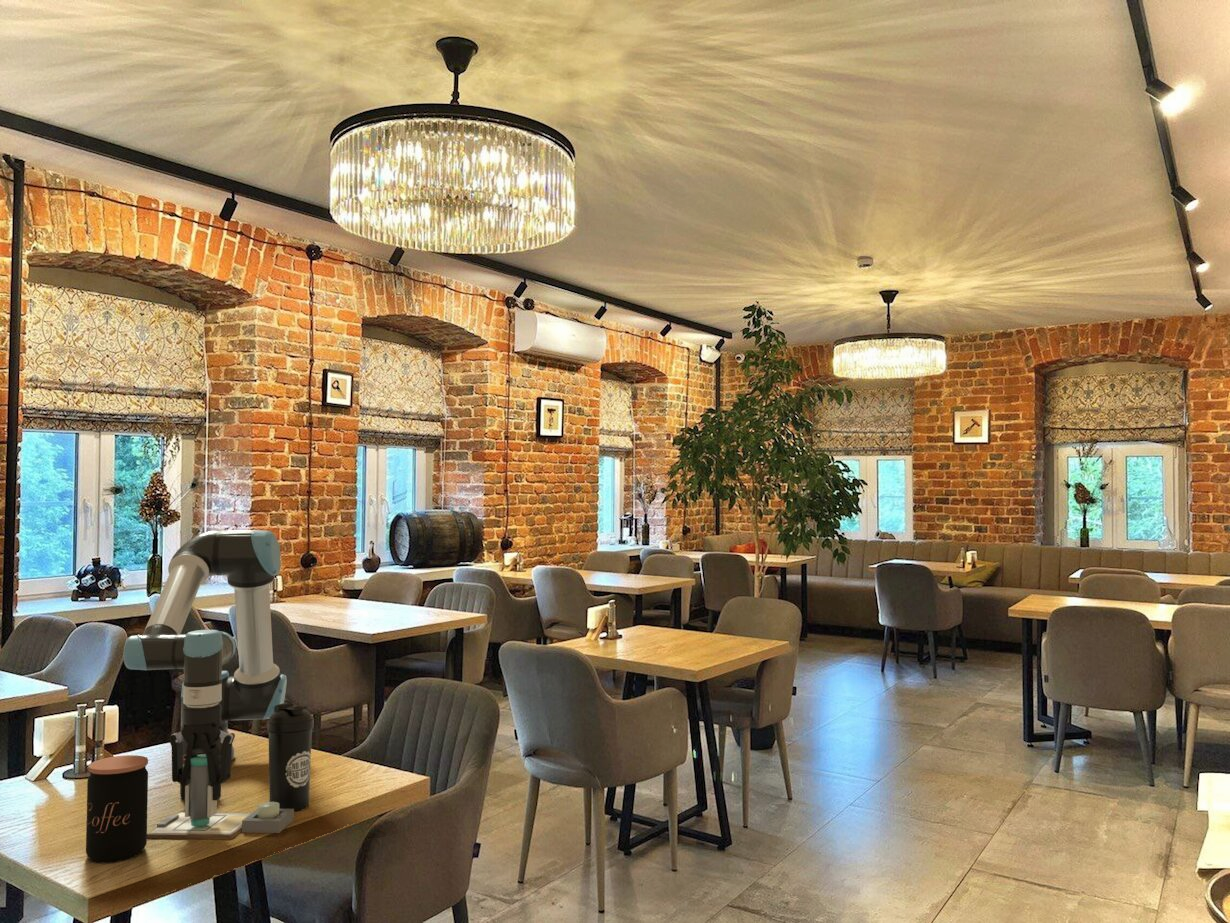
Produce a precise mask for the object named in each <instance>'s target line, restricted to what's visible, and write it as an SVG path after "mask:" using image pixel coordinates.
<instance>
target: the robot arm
mask: <svg viewBox="0 0 1230 923" xmlns="http://www.w3.org/2000/svg"><path fill="white" fill-rule="evenodd" d="M281 558H282V556H281V549H280V543H279V540H278V537H277V536H276V535H275V533H274V532H272V531H270V530H260V529H244V530H243V529H240V530H239V529H237V530H235V529H234V530H232V529H231V530H230V529H229V530H225V529H224V530H218V529H216V530H209V531H205V532H202V533H199V534H197V535H196V536H194V537H192V538H190V539H189V540H188V541H187V542H185V543H183V544H182V546H180V547H179V549H177V551H176V552H175V553H174V554H173V556H172V557H171V559H170V562H169V564H168V567H167V568H168V570H167V571H168V577H167V579H166V581H165V583H164V586H163V588H162V590H161V592H160V594H159V597H158V599H157V602H156V603H155V606H154V608H153V610H152V613H151V614H150V618H149V620H148V621H147V623H146V626H145V629H144V631H143V633H142V634H137V635H131V636H128V637H127V639H126V641H125V643H124V645H123V651H122V652H123V653H122V656H123V664H124V665H125V667H126V669H128V670H136V671H137V670H140V671H152V670H153V671H156V670H159V671H160V670H181V669H182V670H183V682H182V684H181V694H180V731H179V732H175V733H173V734H171V735H169V736H168V741H169V743H170V747H171V780H172V782H173V783H178V784H179V785H180V784H181V796H180V798H181V800H182V801H184V812H185V817H189V816H190V778H191V758H192V757H194V756H196V755H197V752H204V753H205V754H206V758H207V763H208V768H209V774H210V779H211V784H210V785H209V786H208V798H207V817H212V816H213V815H215V814H216V813H218V812H217V811H218V810H217V809H218V807H217V806H218V805H217V804H218V800H219V799H221V797H222V783H226V782H227V781H228V780H230V779H231V776H232V775H231V773H232V772H231V771H232V768H231V767H232V760H234V759H235V747H234V745H233V742H234V740H235V737H236V735H235V733H234V732H231V733H230V732H229V730H228V726H229V725H228V724H229V723H228V721H248V720H249V721H252V720H254V721H255V720H262V721H265V720H269V718H270V716H271V715H272V714H273V713H275V712H274V707H275V706H276V705H279V704H284V703H285V698H286V691H287V685H288V684H287V681H288V679H287V675H286V674H283V673H282V674H281V671H280V667H279V666H278V665H277V664H276V663H274V654H273V653H274V652H273V635H272V632H273V631H272V614H271V599H270V598H271V597H270V596H271V594H270V585H271V584H272V583H273V582H274V581H275V579H276V578H275V576H277V575H279V573H280V571H281V568H282V567H281V566H282V562H281V561H282V560H281ZM212 576H217V577H218V576H226V578H227V585H228V586H230V587H231V588H233V589H234V590H233V592H234V604H235V605H234V606H235V618H236V634H237V647H236V642H235V639H234V637H233V636H232V635H231V634H230V633H228V632H226V631H222V630H221V631H220V630H218V629H199V630H192V631H189V632H187V633H186V634H185V633H184V634H182V631H183V629H184V626H185V623H186V621H187V619H188V616H189V614H190V612H191V609H192V606H193V604H194V602H195V599H196V596H197V594H198V592H199V590H200V587H201V585H202V584H204V583H205V582H206V581H207V579H208V578H209V577H212ZM236 649H237V650H238V665H239V667H238V668H237V669H236V670H235V671H234V673H233V676H230V674H229V671H228V670H223V666H225V665H227V664H228V663H229V662H230V661H231V660H232V658H233V656H234V655H235V652H236ZM184 755H186V759H185V763H184V768H183V756H184Z"/></svg>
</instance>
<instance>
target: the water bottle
mask: <svg viewBox="0 0 1230 923" xmlns="http://www.w3.org/2000/svg"><path fill="white" fill-rule="evenodd" d="M307 709H308V706H307V705H303V704H302V705H293V703H292V702H284V704H279V705H276V706H275V707H274V712H275V713H273V714H272V715H271V716H270V718H269V719H267V720H266V730H267V733H268V780H269V781H268V783H269V787H268V788H269V802H278V803H279V809H294V813H296V812H300V811H303V810H305V809H307V808H309V806H310V789H311V788H310V785H311V784H310V782H311V781H310V780H311V761H312V760H311V758H312V735H313V734H312V732H313V729H314V725H315V724H314V723H315V722H314V720H315V719H314V716H313V715H312V714H311V712H309V711H308V710H307ZM306 807H307V808H306ZM302 809H303V810H302Z"/></svg>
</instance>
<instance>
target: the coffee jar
mask: <svg viewBox="0 0 1230 923" xmlns="http://www.w3.org/2000/svg"><path fill="white" fill-rule="evenodd" d="M148 764H149V759H148V757H146V756H143V755H137V754H136V755H133V754H132V755H131V754H130V755H129V754H128V755H117V756H109V757H106V758H101V759H97V760H95V761H92V762H90V763H89V764H88V765H87V770H88V772H89V773H90V775H89V776H88V777H87V783H86V784H87V785H86V786H87V788H86V828H85V830H86V832H85V853H86V856H87V858H88V859H89V860H90V861H91V862H93V863H98V864H109V863H110V864H111V863H112V864H113V863H117V862H124V861H127V860H130V859H133V858H135V857H138V856H140V854H142V853H143V850H145V848H146V846H147V844H148V843H147V841H148V840H147V839H148V838H147V833H148V800H149V799H148V796H149V794H148V793H149V792H148V791H149V771H148V770H147V768H146V767H147V765H148Z"/></svg>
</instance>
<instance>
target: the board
mask: <svg viewBox="0 0 1230 923" xmlns="http://www.w3.org/2000/svg"><path fill="white" fill-rule="evenodd" d="M251 813H252V812H217V813H216V814H215V815H213V816H212V817H210V822H209V824H207V825H204V826H191V819H190V816H189V817H185V811H180V812H179V811H178V813H176V814H170V815H169V816H167V817H166V818H164V819H163V820H161V821H160V822H158V823H157V824H156V826H155V827H154V828H153V829H151V830H150V831H147V839H176V840H178V839H180V840H181V839H187V840H189V839H191V840H193V839H194V840H196V839H197V840H198V839H199V840H232V839H233V838H235V837H236V836H238V834H239V832H240V833H242V820H243V819H245V818H246V817H247V816H249V815H250V814H251Z"/></svg>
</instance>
